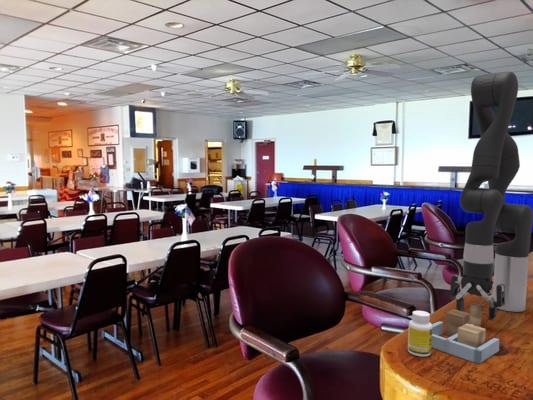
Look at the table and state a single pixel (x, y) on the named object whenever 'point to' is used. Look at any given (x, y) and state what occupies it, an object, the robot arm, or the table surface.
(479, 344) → the oak block
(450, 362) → the table surface
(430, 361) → the table surface
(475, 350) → the lane shelf
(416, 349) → the supplement bottle
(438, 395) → the table surface
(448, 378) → the table surface
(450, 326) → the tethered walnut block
